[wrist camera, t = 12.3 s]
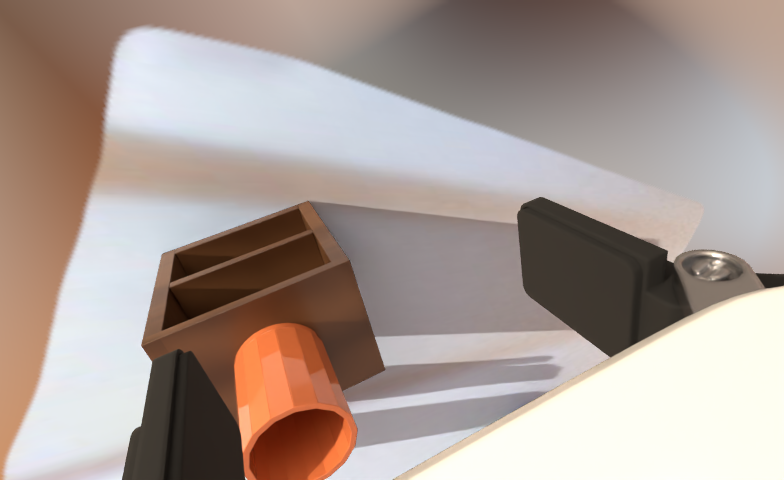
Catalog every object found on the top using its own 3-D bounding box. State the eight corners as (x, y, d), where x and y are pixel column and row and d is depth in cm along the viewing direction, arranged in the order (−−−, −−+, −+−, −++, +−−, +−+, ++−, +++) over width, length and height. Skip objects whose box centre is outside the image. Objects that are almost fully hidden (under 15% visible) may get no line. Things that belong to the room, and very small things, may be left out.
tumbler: (218, 347, 28) (221, 442, 21) (308, 308, 29) (339, 384, 22) (254, 410, 31) (267, 510, 24) (334, 371, 32) (368, 456, 26)
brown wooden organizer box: (161, 253, 38) (140, 345, 26) (308, 200, 41) (349, 260, 29) (213, 342, 43) (216, 453, 31) (339, 289, 46) (385, 370, 34)
